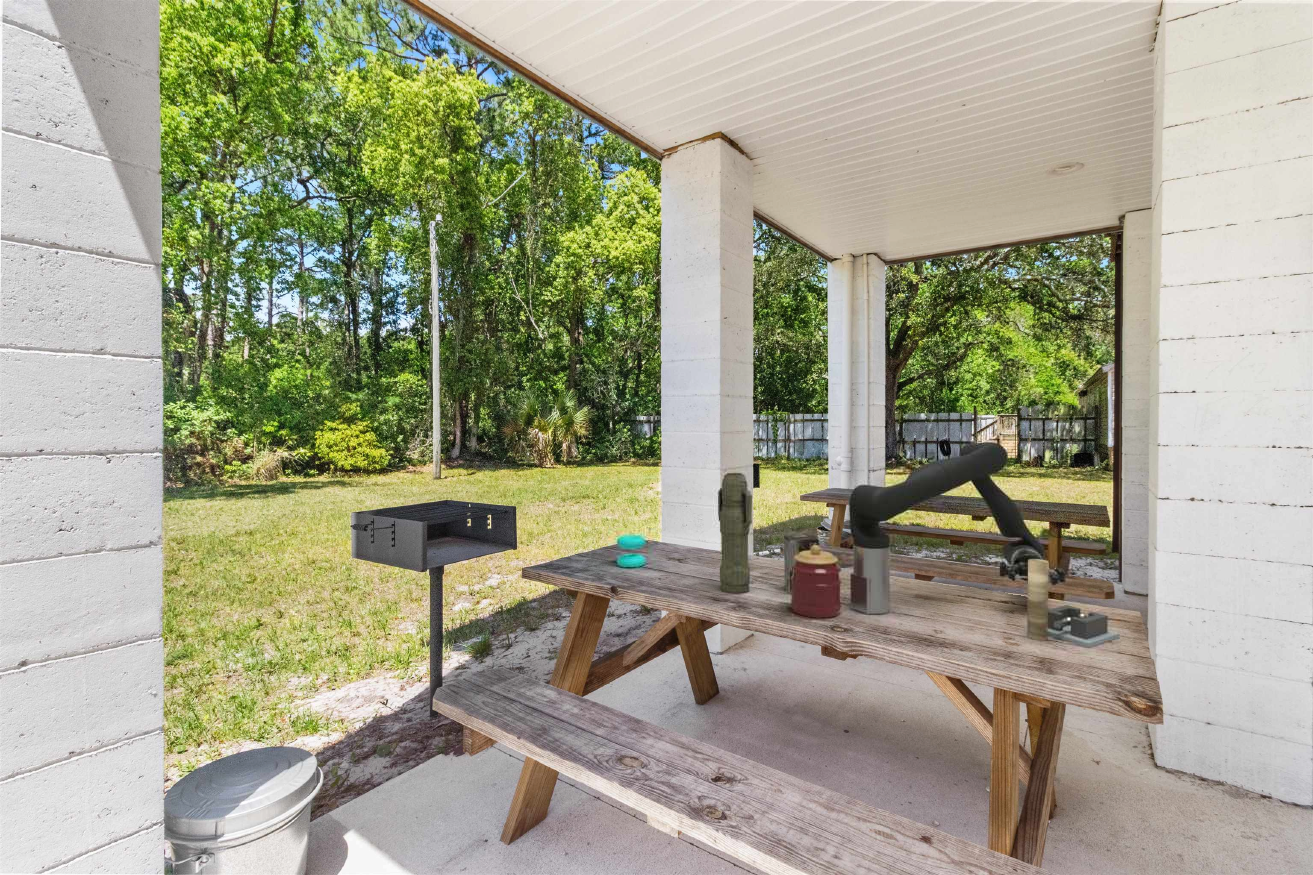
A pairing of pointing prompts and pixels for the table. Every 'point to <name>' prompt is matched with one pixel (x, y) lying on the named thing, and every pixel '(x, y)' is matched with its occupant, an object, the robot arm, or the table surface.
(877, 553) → the robot arm
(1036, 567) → the birch dowel
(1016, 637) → the table surface
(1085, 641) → the band socket
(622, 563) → the donuts
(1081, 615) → the plunger
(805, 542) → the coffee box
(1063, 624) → the plunger
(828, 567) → the canister
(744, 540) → the thermos
